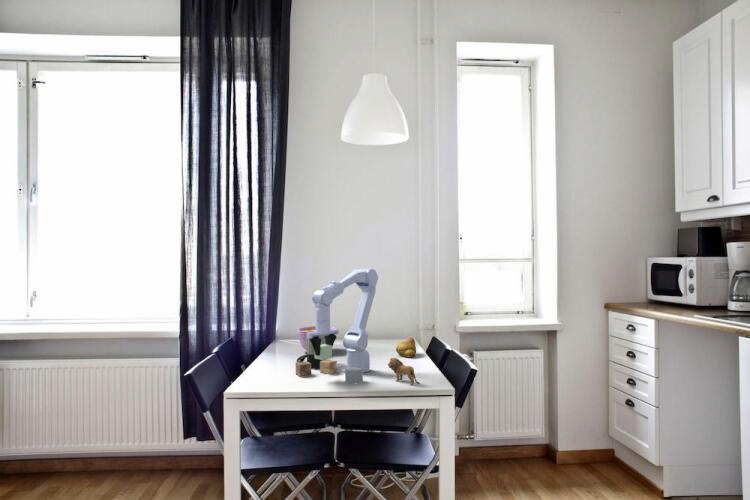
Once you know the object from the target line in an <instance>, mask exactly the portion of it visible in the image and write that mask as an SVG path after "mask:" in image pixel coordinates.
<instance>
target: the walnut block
mask: <svg viewBox="0 0 750 500" xmlns="http://www.w3.org/2000/svg"><path fill="white" fill-rule="evenodd" d="M295 375H296V376H297V377H298V378H302V377H303V378H304V377H309V376H310V377H311V376H312V369H311V363H309V362H307V360H306V362H305V361H303V362H297V361H296V362H295Z"/></svg>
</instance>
